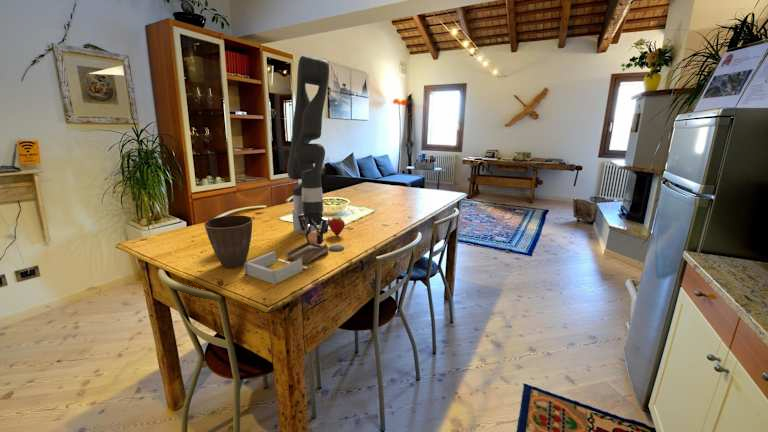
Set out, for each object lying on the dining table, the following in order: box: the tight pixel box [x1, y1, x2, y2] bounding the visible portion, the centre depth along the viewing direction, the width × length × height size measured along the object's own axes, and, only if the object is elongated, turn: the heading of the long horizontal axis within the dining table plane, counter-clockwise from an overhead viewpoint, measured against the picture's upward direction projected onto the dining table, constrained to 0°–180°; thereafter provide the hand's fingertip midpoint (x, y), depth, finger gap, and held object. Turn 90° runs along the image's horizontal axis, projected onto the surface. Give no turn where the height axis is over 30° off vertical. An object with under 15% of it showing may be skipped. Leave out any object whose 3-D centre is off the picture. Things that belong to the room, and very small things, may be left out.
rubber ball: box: [308, 230, 317, 244], centre depth 128 cm, size 5×5×5 cm
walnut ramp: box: [285, 241, 329, 265], centre depth 126 cm, size 10×12×4 cm
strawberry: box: [328, 214, 346, 236], centre depth 149 cm, size 6×8×10 cm
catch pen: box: [243, 251, 304, 285], centre depth 112 cm, size 14×12×4 cm
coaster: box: [328, 244, 345, 253], centre depth 134 cm, size 6×6×1 cm
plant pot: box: [203, 214, 253, 270], centre depth 117 cm, size 15×15×16 cm
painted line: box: [277, 258, 309, 270], centre depth 120 cm, size 14×1×1 cm, turn 59°
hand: (314, 242), depth 128 cm, fingers closed on rubber ball, 4 cm apart
